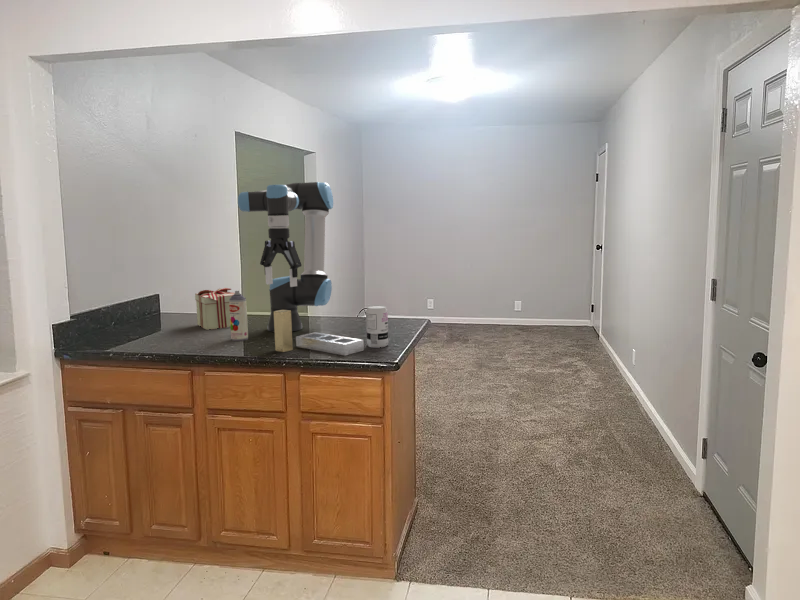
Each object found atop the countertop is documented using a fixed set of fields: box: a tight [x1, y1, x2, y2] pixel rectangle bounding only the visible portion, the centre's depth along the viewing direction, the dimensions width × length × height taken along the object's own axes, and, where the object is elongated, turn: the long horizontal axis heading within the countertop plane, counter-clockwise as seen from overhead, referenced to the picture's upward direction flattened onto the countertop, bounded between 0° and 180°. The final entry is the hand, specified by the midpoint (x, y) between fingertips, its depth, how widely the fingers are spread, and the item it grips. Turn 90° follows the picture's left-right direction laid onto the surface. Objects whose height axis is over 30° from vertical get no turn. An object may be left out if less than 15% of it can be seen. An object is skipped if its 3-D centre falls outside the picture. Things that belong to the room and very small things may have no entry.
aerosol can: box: [229, 290, 249, 342], centre depth 257 cm, size 7×7×20 cm
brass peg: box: [274, 310, 294, 353], centre depth 235 cm, size 4×4×15 cm
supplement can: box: [365, 305, 389, 349], centre depth 240 cm, size 8×8×15 cm
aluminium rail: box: [295, 331, 365, 356], centre depth 238 cm, size 26×10×4 cm, turn 51°
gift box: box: [194, 287, 235, 331], centre depth 287 cm, size 17×18×17 cm
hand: (281, 285), depth 233 cm, fingers open, 13 cm apart
